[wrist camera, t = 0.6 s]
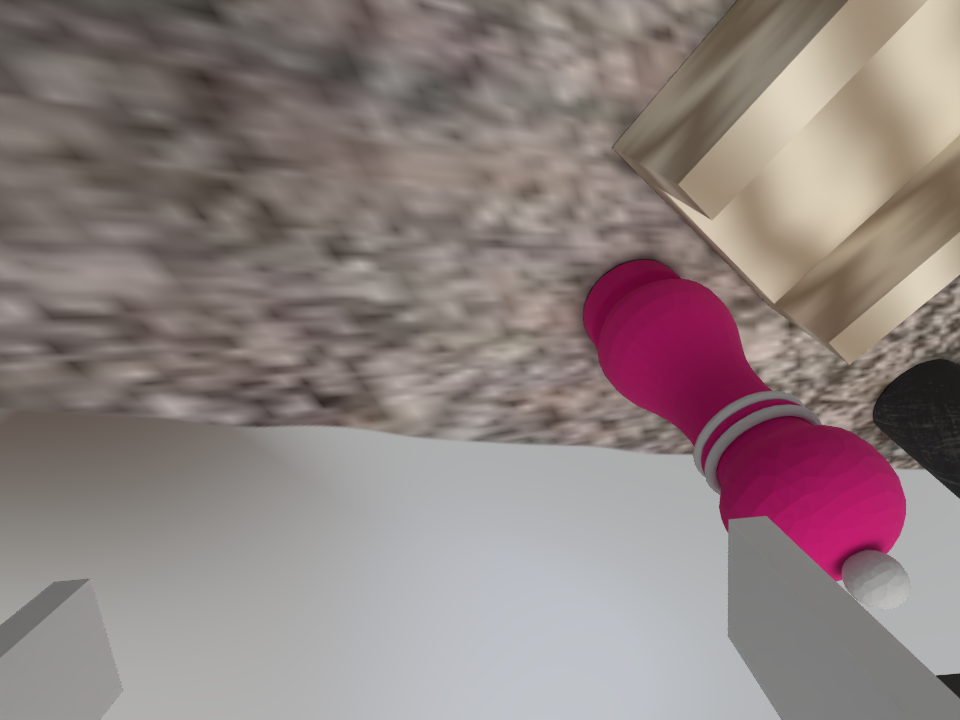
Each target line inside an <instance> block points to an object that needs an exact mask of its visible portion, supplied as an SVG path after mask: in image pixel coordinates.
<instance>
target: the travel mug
mask: <svg viewBox="0 0 960 720" xmlns="http://www.w3.org/2000/svg"><path fill="white" fill-rule="evenodd" d="M873 417H874V421H875V423H876V425H877V426H878V427H879V428H880V429H881V430H882V431H883V432H884V433H885V434H886V435H887V436H888V437H890V438H891V439H892V440H893V441H894V442H895V443H896V444H898V445H899V446H900V447H901V448H902V449H903V450H904V451H906V452H907V453H908V454H909V455H910V456H911V457H912V458H914V459H915V460H916V461H917V462H918V463H919V464H920V465H922V466H923V467H924V468H925V469H926V470H927V471H929V472H930V473H931V474H932V475H933V476H934V477H935V478H937V479H938V480H939V481H940V482H941V483H942V484H943V485H945V486H946V487H947V488H948V489H949V490H950V491H951V492H953V493H954V494H955V495H956V496H957V497H959V498H960V366H959V365H957V364H955V363H953V362H951V361H947V360H933V361H929V362H926V363H923V364H920V365H918V366H916V367H914V368H912V369H910V370H908V371H907V372H905V373H904V374H902V375H901V376H899V377H898V378H897V379H896V380H894V381H893V382H892V383H891V384H890V385H889V386H888V387H887V388H886V390H885V391H884V392H883V393H882V395H881V396H880V398H879V399H878V401H877V403H876V406H875V408H874V414H873Z"/></svg>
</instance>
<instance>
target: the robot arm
mask: <svg viewBox="0 0 960 720" xmlns="http://www.w3.org/2000/svg"><path fill="white" fill-rule="evenodd" d="M728 534H729V535H728V536H729V537H728V538H729V539H728V540H729V541H728V545H729V546H728V637H729V638H730V640H731V642H732V643H733V644H734V646H735V648H736V649H737V651H738V653H739V654H740V655H741V657H742V659H743V660H744V662H745V664H746V665H747V667H748V668H749V670H750V671H751V673H752V674H753V676H754V678H755V679H756V681H757V682H758V684H759V685H760V687H761V689H762V690H763V692H764V693H765V695H766V696H767V698H768V699H769V701H770V703H771V704H772V706H773V707H774V709H775V710H776V712H777V714H778V715H779V717H780V718H781V720H960V674H949V675H938V676H935V675H934V674H933V673H932V672H931V671H930V670H929V669H928V668H927V667H926V666H925V665H924V664H923V663H922V662H920V661H919V660H918V659H917V658H916V657H915V656H914V655H913V654H912V653H911V652H910V651H909V650H908V649H907V648H905V646H904V645H902V644H901V643H900V642H899V641H898V640H897V639H896V638H895V637H894V636H893V635H892V634H891V633H890V632H889V631H888V630H887V629H885V628H884V627H883V626H882V625H881V624H880V623H879V622H878V621H877V620H876V619H875V618H874V617H873V616H872V615H871V614H870V613H869V612H868V611H866V610H865V609H864V608H863V607H862V606H861V605H860V604H859V603H858V602H857V601H856V600H855V599H854V598H853V597H852V596H851V595H849V594H848V593H847V592H846V591H845V590H844V589H843V588H842V587H841V586H840V585H839V584H838V583H837V582H836V581H835V580H834V579H833V578H832V577H830V576H829V575H828V574H827V573H826V572H825V571H824V570H823V569H822V568H821V567H820V566H819V565H818V564H817V563H816V562H815V561H814V560H812V559H811V558H810V557H809V556H808V555H807V554H806V553H805V552H804V551H803V550H802V549H801V548H800V547H799V546H798V545H797V544H796V543H794V542H793V541H792V540H791V539H790V538H789V537H788V536H787V535H786V534H785V533H784V532H783V531H782V530H781V529H780V528H779V527H778V526H776V525H775V524H774V523H773V522H772V521H771V520H770V519H769V518H768V517H767V516H760V517H750V518H739V519H729V529H728ZM122 691H123V688H122V685H121V681H120V678H119V675H118V671H117V668H116V664H115V661H114V658H113V654H112V651H111V647H110V644H109V640H108V637H107V633H106V630H105V627H104V623H103V620H102V616H101V613H100V610H99V606H98V603H97V599H96V596H95V592H94V589H93V585H92V582H91V579H81V580H70V581H59V582H53V583H52V584H51V585H50V586H49V587H47V588H46V589H45V590H44V591H42V592H41V593H40V594H39V595H37V596H36V597H35V598H34V599H32V600H31V601H30V602H29V603H27V604H26V605H25V606H24V607H22V608H21V609H20V610H19V611H18V612H16V613H15V614H14V615H13V616H12V617H10V618H9V619H8V620H6V621H5V622H4V623H3V624H1V625H0V720H100V719H101V718H102V717H103V715H104V714H105V713H106V712H107V710H108V709H109V708H110V707H111V705H112V704H113V703H114V701H115V700H116V699H117V698H118V696H119V695H120V694H121V692H122Z"/></svg>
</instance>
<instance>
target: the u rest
mask: <svg viewBox="0 0 960 720" xmlns="http://www.w3.org/2000/svg"><path fill="white" fill-rule="evenodd" d="M612 148H613V149H614V150H615V151H616V152H617V153H618V154H619V155H620V156H621V157H622V158H623V159H624V160H625V161H626V162H627V163H628V164H629V165H630V166H631V167H632V168H633V169H634V170H635V171H636V172H637V173H638V174H639V175H640V176H641V177H642V178H643V179H644V180H645V181H646V182H647V183H648V184H649V185H650V186H651V187H652V188H653V189H654V190H655V191H656V192H657V193H658V194H659V195H660V196H661V197H662V198H663V199H664V200H665V201H666V202H667V203H668V204H669V205H670V206H671V207H672V208H673V209H674V210H675V211H676V212H677V213H678V214H679V215H680V216H681V218H682V219H683V220H684V221H685V222H686V223H687V224H688V225H689V226H690V227H691V228H692V229H693V230H694V231H695V232H696V233H697V234H698V235H699V236H700V237H701V238H702V239H703V240H704V241H705V242H706V243H707V244H708V245H709V246H710V247H711V248H712V249H713V250H714V251H715V252H716V253H717V254H718V255H719V256H720V257H721V258H722V259H723V260H724V261H725V262H726V263H727V264H728V265H729V266H730V267H731V268H732V269H733V270H734V271H735V272H736V273H737V274H738V275H739V276H740V277H741V278H742V279H743V280H744V281H745V282H746V283H747V284H748V285H749V286H750V287H751V288H752V289H753V290H754V291H755V292H756V293H757V294H758V295H759V296H760V297H761V298H762V299H763V300H764V301H765V302H766V303H767V304H768V305H769V306H770V307H771V308H773V309H774V310H776V311H777V312H778V313H780V314H781V315H782V316H784V317H785V318H786V319H788V320H789V321H791V322H792V323H793V324H795V325H796V326H797V327H799V328H800V329H801V330H803V331H804V332H806V333H807V334H808V335H810V336H811V337H812V338H814V339H815V340H816V341H818V342H819V343H821V344H822V345H823V346H825V347H826V348H827V349H829V350H830V351H831V352H833V353H834V354H835V355H837V356H838V357H840V358H841V359H842V360H844V361H845V362H846V363H848V364H849V365H850V364H851V363H852V362H853V361H855V360H856V359H857V358H858V357H860V356H861V355H862V354H863V353H864V352H866V351H867V350H868V349H869V348H871V347H872V346H873V345H874V344H875V343H877V342H878V341H879V340H880V339H882V338H883V337H884V336H885V335H886V334H888V333H889V332H890V331H891V330H893V329H894V328H895V327H896V326H897V325H899V324H900V323H901V322H902V321H904V320H905V319H906V318H907V317H908V316H910V315H911V314H912V313H913V312H915V311H916V310H917V309H918V308H919V307H921V306H922V305H923V304H924V303H926V302H927V301H928V300H929V299H930V298H932V297H933V296H934V295H935V294H937V293H938V292H939V291H940V290H941V289H943V288H944V287H945V286H946V285H948V284H949V283H950V282H951V281H953V280H954V279H955V278H956V277H957V276H959V275H960V0H737V1H736V3H735V4H734V5H733V6H732V7H731V8H730V10H729V11H728V12H727V13H726V14H725V15H724V17H723V18H722V19H721V20H720V21H719V23H718V24H717V25H716V26H715V27H714V28H713V30H712V31H711V32H710V33H709V34H708V35H707V37H706V38H705V39H704V40H703V41H702V42H701V44H700V45H699V46H698V47H697V48H696V50H695V51H694V52H693V53H692V54H691V55H690V57H689V58H688V59H687V60H686V61H685V62H684V64H683V65H682V66H681V67H680V68H679V69H678V71H677V72H676V73H675V74H674V75H673V77H672V78H671V79H670V80H669V81H668V82H667V84H666V85H665V86H664V87H663V88H662V89H661V91H660V92H659V93H658V94H657V95H656V96H655V98H654V99H653V100H652V101H651V102H650V104H649V105H648V106H647V107H646V108H645V109H644V111H643V112H642V113H641V114H640V115H639V116H638V118H637V119H636V120H635V121H634V122H633V124H632V125H631V126H630V127H629V128H628V129H627V131H626V132H625V133H624V134H623V135H622V136H621V138H620V139H619V140H618V141H617V142H616V143H615V145H614V146H613V147H612Z"/></svg>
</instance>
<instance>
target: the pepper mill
mask: <svg viewBox="0 0 960 720" xmlns="http://www.w3.org/2000/svg"><path fill="white" fill-rule="evenodd" d="M583 319H584V326H585V329H586V331H587V334H588V335H589V337H590V339H591V340H592V341H593V343H594V344H595V346H596V347H597V349H598V357H599V362H600V365H601V368H602V370H603V372H604V374H605V376H606V377H607V379H608V380H609V381H610V382H611V384H612V385H613V386H614V387H615V388H616V390H617V391H619V392H620V393H621V394H622V395H623V396H624V397H626V398H627V399H628V400H630V401H631V402H633V403H634V404H636V405H637V406H639V407H641V408H644V409H646V410H648V411H650V412H653V413H655V414H657V415H659V416H661V417H663V418H664V419H666V420H668V421H669V422H671V423H672V424H673V425H675V426H676V427H677V428H679V429H680V430H681V431H682V432H683V433H684V434H685V435H686V436H687V438H688V439H689V440H690V441H691V442H692V444H693V446H694V454H693V456H694V462H695V465H696V467H697V469H698V471H699V472H700V473H701V474H702V475H703V476H704V477H705V478H706V481H707V483H708V484H709V486H710V487H711V488H712V489H713V490H714V491H715V492H716V493H718V494H720V505H719V509H720V514H721V518H722V521H723V524H724V526H725V528H726V530H727V532H728V529H729V519H739V518H750V517H760V516H767V517H768V518H769V519H770V520H771V521H772V522H773V523H774V524H775V525H776V526H778V527H779V528H780V529H781V530H782V531H783V532H784V533H785V534H786V535H787V536H788V537H789V538H790V539H791V540H792V541H793V542H794V543H796V544H797V545H798V546H799V547H800V548H801V549H802V550H803V551H804V552H805V553H806V554H807V555H808V556H809V557H810V558H811V559H812V560H814V561H815V562H816V563H817V564H818V565H819V566H820V567H821V568H822V569H823V570H824V571H825V572H826V573H827V574H828V575H829V576H830V577H832V578H833V579H834V580H835V581H839V580H842V579H843V582H844V584H845V587H846V589H847V590H848V591H849V592H850V594H851V595H852V596H853V597H854V598H855V599H856V600H858V601H859V602H861V603H863V604H865V605H867V606H869V607H872V608H877V609H891V608H895V607H897V606H899V605H901V604H902V603H903V602H904V601H905V600H906V599H907V597H908V594H909V591H910V581H909V577H908V574H907V573H906V571H905V570H904V568H903V567H902V565H901V564H900V563H899V562H898V561H896V560H895V559H894V558H892V557H891V556H889V555H887V553H888V552H889V550H890V549H891V548H892V547H893V545H894V543H895V542H896V540H897V539H898V537H899V536H900V533H901V530H902V528H903V525H904V520H905V515H906V499H905V496H904V493H903V489H902V486H901V483H900V480H899V477H898V476H897V474H896V473H895V471H894V470H893V468H892V467H891V466H890V464H889V463H888V461H887V460H886V459H885V458H884V457H883V456H882V455H881V454H880V453H879V452H878V451H877V450H876V449H875V448H874V447H873V446H871V445H870V444H869V443H867V442H866V441H864V440H863V439H861V438H860V437H859V436H857V435H856V434H854V433H851V432H849V431H847V430H844V429H842V428H838V427H832V426H826V425H822V424H821V422H820V420H819V418H818V417H817V416H816V415H815V413H813V412H812V411H810V410H809V409H807V408H805V407H804V405H803V404H802V402H801V401H800V400H799V399H798V398H796V397H795V396H793V395H791V394H789V393H785V392H780V391H772V390H771V389H770V388H768V387H767V386H766V385H765V384H764V383H763V382H762V381H761V379H760V378H759V377H758V376H757V375H756V373H755V372H754V371H753V370H752V369H751V367H750V365H749V364H748V362H747V360H746V358H745V355H744V352H743V348H742V344H741V340H740V336H739V332H738V328H737V326H736V323H735V321H734V319H733V317H732V315H731V314H730V312H729V310H728V309H727V307H726V306H725V305H724V303H723V302H722V301H721V300H720V299H719V298H718V297H717V296H716V295H715V294H714V293H713V292H712V291H711V290H709V289H708V288H706V287H705V286H703V285H701V284H699V283H697V282H694V281H690V280H685V279H681V278H680V277H679V276H678V275H677V274H675V273H674V272H673V271H672V270H671V269H670V268H668V267H667V266H666V265H664V264H662V263H660V262H656V261H652V260H636V261H631V262H628V263H625V264H622V265H620V266H618V267H616V268H614V269H612V270H611V271H610V272H608V273H607V274H606V275H604V276H603V277H602V278H601V279H600V280H599V281H598V282H597V284H596V285H595V286H594V287H593V289H592V290H591V292H590V294H589V296H588V298H587V300H586V303H585V308H584V318H583Z"/></svg>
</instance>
